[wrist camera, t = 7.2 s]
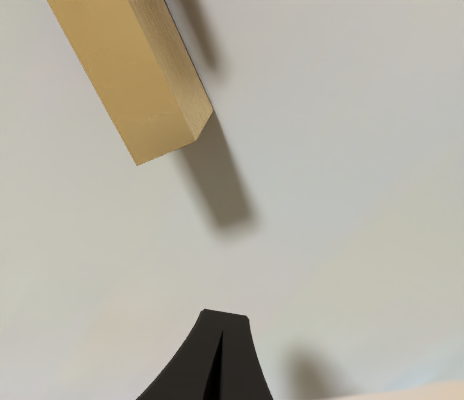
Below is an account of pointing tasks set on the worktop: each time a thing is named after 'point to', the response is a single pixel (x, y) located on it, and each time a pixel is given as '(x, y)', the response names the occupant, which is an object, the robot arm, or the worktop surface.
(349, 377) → the worktop surface
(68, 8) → the loose leaf
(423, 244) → the worktop surface
